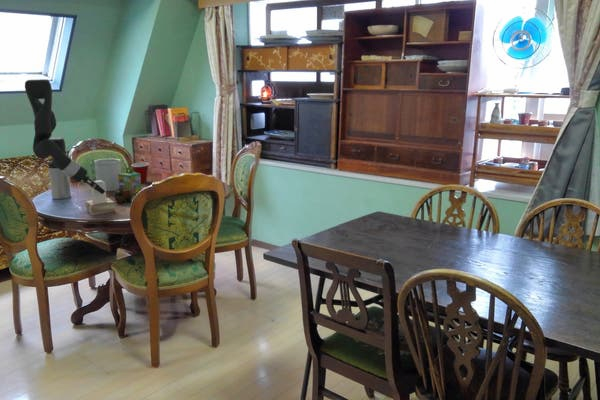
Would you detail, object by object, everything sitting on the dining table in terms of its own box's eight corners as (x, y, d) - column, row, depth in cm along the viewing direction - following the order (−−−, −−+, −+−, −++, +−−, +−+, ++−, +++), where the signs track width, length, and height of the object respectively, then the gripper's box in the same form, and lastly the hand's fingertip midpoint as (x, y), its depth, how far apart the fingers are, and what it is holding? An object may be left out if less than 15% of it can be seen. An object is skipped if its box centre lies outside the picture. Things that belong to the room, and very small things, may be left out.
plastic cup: (129, 183, 317) (127, 164, 314) (139, 180, 327) (137, 162, 324) (143, 184, 314) (142, 165, 311) (153, 181, 324) (152, 162, 321)
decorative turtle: (122, 205, 261) (120, 190, 259) (109, 203, 271) (106, 188, 269) (139, 201, 268) (137, 187, 266) (125, 199, 278) (123, 184, 276)
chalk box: (118, 194, 288) (116, 168, 284) (129, 190, 296) (127, 166, 292) (131, 195, 284) (129, 169, 281) (142, 192, 293) (140, 167, 289)
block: (86, 210, 252) (85, 200, 250) (109, 207, 258) (108, 197, 256) (91, 215, 243) (90, 205, 242) (115, 211, 249) (114, 201, 248)
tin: (92, 201, 250) (90, 181, 247) (103, 199, 253) (101, 179, 250) (95, 203, 245) (93, 182, 243) (106, 201, 248) (104, 181, 246)
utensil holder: (128, 188, 303) (125, 159, 299) (107, 192, 291) (104, 162, 287) (112, 185, 311) (110, 157, 307) (91, 189, 299) (88, 160, 295)
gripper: (83, 166, 235) (110, 187, 244) (76, 162, 246) (102, 182, 255) (72, 179, 233) (100, 199, 242) (66, 174, 244) (93, 194, 253)
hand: (101, 191), depth 249 cm, fingers open, 8 cm apart
